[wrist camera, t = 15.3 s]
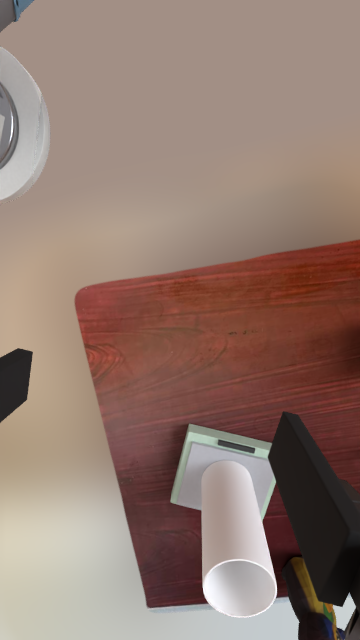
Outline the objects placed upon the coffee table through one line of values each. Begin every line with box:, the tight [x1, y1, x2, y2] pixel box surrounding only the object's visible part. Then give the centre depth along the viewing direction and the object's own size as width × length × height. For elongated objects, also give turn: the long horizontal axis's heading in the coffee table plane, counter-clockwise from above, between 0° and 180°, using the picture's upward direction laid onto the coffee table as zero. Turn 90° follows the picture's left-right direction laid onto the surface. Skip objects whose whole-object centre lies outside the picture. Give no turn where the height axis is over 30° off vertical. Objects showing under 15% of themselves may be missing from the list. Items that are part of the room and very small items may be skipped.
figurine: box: [281, 557, 346, 640], centre depth 47 cm, size 10×7×15 cm
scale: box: [171, 424, 276, 521], centre depth 50 cm, size 16×14×3 cm
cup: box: [201, 460, 277, 618], centre depth 40 cm, size 8×8×16 cm
